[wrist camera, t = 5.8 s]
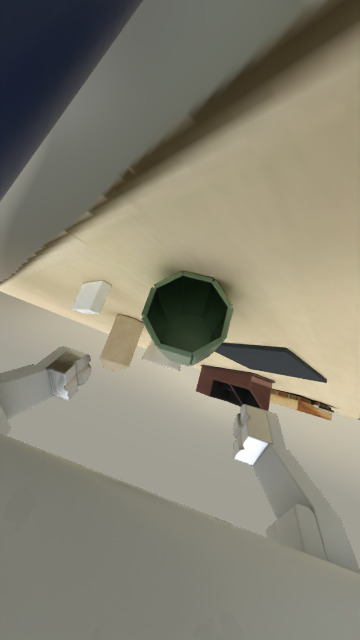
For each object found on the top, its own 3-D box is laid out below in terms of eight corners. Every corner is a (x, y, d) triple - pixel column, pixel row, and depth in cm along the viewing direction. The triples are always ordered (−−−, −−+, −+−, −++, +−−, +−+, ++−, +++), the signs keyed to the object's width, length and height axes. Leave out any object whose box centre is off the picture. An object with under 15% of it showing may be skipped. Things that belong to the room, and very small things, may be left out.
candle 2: (195, 346, 45) (187, 373, 43) (170, 343, 52) (162, 366, 50) (167, 332, 39) (157, 363, 38) (143, 330, 46) (134, 356, 44)
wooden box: (341, 409, 92) (305, 396, 82) (340, 423, 90) (303, 412, 80) (291, 396, 114) (258, 385, 103) (290, 408, 112) (256, 398, 102)
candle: (145, 327, 41) (128, 374, 38) (120, 319, 41) (102, 366, 38) (142, 320, 36) (122, 374, 33) (113, 311, 36) (91, 365, 33)
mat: (199, 340, 38) (198, 343, 38) (286, 348, 26) (285, 352, 26) (250, 366, 50) (250, 368, 49) (326, 379, 37) (326, 383, 37)
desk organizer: (200, 364, 86) (194, 390, 83) (253, 372, 60) (246, 411, 57) (219, 371, 90) (213, 396, 87) (275, 381, 64) (269, 417, 61)
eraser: (111, 286, 23) (99, 314, 22) (92, 287, 26) (80, 312, 25) (102, 280, 22) (89, 309, 21) (83, 282, 25) (70, 308, 24)
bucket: (218, 320, 23) (205, 371, 22) (169, 307, 24) (153, 356, 22) (238, 284, 14) (219, 366, 13) (159, 264, 15) (131, 340, 13)
